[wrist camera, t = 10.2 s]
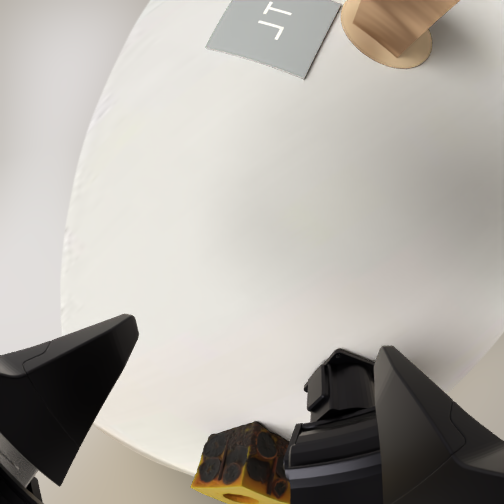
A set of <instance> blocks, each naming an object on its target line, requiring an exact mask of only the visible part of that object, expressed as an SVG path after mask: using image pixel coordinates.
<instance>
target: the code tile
mask: <svg viewBox="0 0 504 504" xmlns="http://www.w3.org/2000/svg"><path fill="white" fill-rule="evenodd" d="M340 6H341V4H339V3H337V2H334V1H331V0H232V1H231V2H230V4H229V6H228V7H227V9H226V11H225V12H224V14H223V16H222V17H221V19H220V21H219V23H218V24H217V26H216V28H215V30H214V32H213V33H212V35H211V37H210V39H209V41H208V43H207V45H206V47H205V48H206V49H210V50H215V51H219V52H223V53H227V54H231V55H234V56H238V57H241V58H245V59H248V60H251V61H255V62H258V63H261V64H264V65H267V66H270V67H273V68H276V69H278V70H281V71H284V72H287V73H289V74H292V75H294V76H297V77H299V78H302V79H304V78H305V76H306V74H307V72H308V70H309V68H310V66H311V64H312V62H313V60H314V58H315V56H316V54H317V52H318V50H319V48H320V46H321V44H322V42H323V40H324V38H325V36H326V34H327V32H328V30H329V28H330V26H331V24H332V22H333V20H334V18H335V16H336V14H337V12H338V10H339V8H340Z"/></svg>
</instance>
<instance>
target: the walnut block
mask: <svg viewBox="0 0 504 504" xmlns="http://www.w3.org/2000/svg"><path fill="white" fill-rule="evenodd" d="M459 1H460V0H361V1H360V4H359V7H358V9H357V12H356V15H355V17H354V20H353V24H354V25H356V26H357V27H359V28H360V29H361V30H363V31H364V32H365V33H367V34H368V35H369V36H371V37H372V38H373V39H374V40H376V41H377V42H378V43H380V44H381V45H382V46H383V47H384V48H386V49H387V50H388V51H389V52H390V53H391V54H393V55H394V56H395V57H396V58H397V57H398V56H400V55H401V54H402V53H403V52H404V51H405V50H406V49H407V48H408V47H409V46H410V45H411V44H412V43H413V42H414V41H415V40H417V39H418V38H419V37H420V36H421V35H422V34H423V33H424V32H425V31H426V30H427V29H428V28H430V27H431V26H432V25H433V24H434V23H435V22H436V21H437V20H438V19H439V18H441V17H442V16H443V15H444V14H445V13H446V12H447V11H449V10H450V9H451V8H452V7H453V6H454V5H455V4H457V3H458V2H459Z"/></svg>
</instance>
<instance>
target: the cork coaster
mask: <svg viewBox="0 0 504 504" xmlns="http://www.w3.org/2000/svg"><path fill="white" fill-rule="evenodd" d="M360 1H361V0H347V1H346V2H345V3H344V5H343V8H342V11H341V23H342V26H343V29H344V31H345V33H346V35H347V37H348V38H349V40H350V41H351V42H352V43H353V44H354V45H355V46H356V47H357V48H358V49H359V50H360V51H361V52H362V53H363V54H365V55H366V56H368V57H369V58H371V59H373V60H374V61H376V62H379V63H381V64H383V65H386V66H390V67H394V68H402V69H405V68H412V67H416V66H418V65H420V64H421V63H423V62H424V61H425V60H426V59H427V58H428V57H429V55H430V53H431V49H432V38H431V34H430V31H429V29H427V30H426V31H425V32H424V33H423V34H422V35H421V36H420V37H419V38H418V39H417V40H415V41H414V42H413V43H412V44H411V45H410V46H409V47H408V48H407V49H406V50H405V51H404V52H403V53H402V54H401V55H400V56H398V57H397V58H396V57H395V56H394V55H393V54H391V53H390V52H389V51H388V50H387V49H386V48H384V47H383V46H382V45H381V44H380V43H378V42H377V41H376V40H374V39H373V38H372V37H371V36H369V35H368V34H367V33H365V32H364V31H363V30H361V29H360V28H359V27H357V26H356V25H354V24H353V20H354V17H355V15H356V12H357V9H358V7H359V4H360Z"/></svg>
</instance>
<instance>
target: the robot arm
mask: <svg viewBox="0 0 504 504" xmlns="http://www.w3.org/2000/svg"><path fill="white" fill-rule="evenodd" d="M138 337H139V332H138V328H137V324H136V319H135V317H134V316H133V315H129V314H122V315H119V316H117V317H114V318H111V319H109V320H106V321H103V322H101V323H98V324H95V325H92V326H90V327H87V328H84V329H81V330H79V331H76V332H73V333H70V334H68V335H65V336H62V337H59V338H57V339H54V340H52V341H48V342H45V343H42V344H40V345H36V346H33V347H30V348H27V349H23V350H19V351H16V352H12V353H8V354H5V355H0V504H43V502H42V498H41V493H40V489H39V484H38V480H37V478H35V477H34V476H35V474H36V473H37V472H38V470H39V471H40V472H41V473H43V474H44V475H45V476H46V477H48V478H49V479H50V480H51V481H53V482H54V483H55V484H57V485H58V486H61V484H62V482H63V480H64V478H65V476H66V474H67V472H68V470H69V468H70V466H71V464H72V462H73V460H74V458H75V456H76V454H77V452H78V450H79V447H80V446H81V444H82V442H83V440H84V438H85V437H86V435H87V433H88V431H89V429H90V427H91V425H92V424H93V422H94V420H95V418H96V416H97V415H98V413H99V411H100V409H101V407H102V406H103V404H104V402H105V400H106V399H107V397H108V395H109V393H110V392H111V390H112V388H113V386H114V385H115V383H116V381H117V380H118V378H119V376H120V375H121V373H122V371H123V369H124V367H125V365H126V363H127V361H128V359H129V357H130V355H131V352H132V350H133V348H134V346H135V344H136V342H137V340H138ZM338 354H340V355H338ZM304 391H305V392H308V397H307V410H308V411H310V412H311V421H310V423H304V424H303V423H300V424H296V426H295V429H294V431H293V434H292V437H291V440H290V442H289V445H288V448H287V451H286V453H285V456H284V459H283V462H284V464H283V469H284V470H285V474H286V477H287V479H288V481H289V483H290V504H504V441H503V440H501V439H500V438H498V437H497V436H496V435H494V434H493V433H492V432H491V431H489V430H488V429H486V428H485V427H484V426H482V425H481V424H480V423H479V422H478V421H476V420H475V419H474V418H473V417H471V416H470V415H469V414H468V413H467V412H465V411H464V410H463V409H462V408H461V407H460V406H459V405H458V404H457V403H456V402H454V401H453V400H452V399H451V398H450V397H449V396H448V395H447V394H446V393H445V392H444V391H442V390H441V389H440V388H439V387H438V386H437V385H436V384H435V383H434V382H433V381H431V380H430V379H429V378H428V377H427V376H426V375H425V374H424V373H423V372H422V371H420V370H419V369H418V368H417V367H416V366H415V365H414V364H413V363H412V362H410V361H409V360H408V359H407V358H406V357H405V356H404V355H403V354H401V353H400V352H399V351H398V350H397V349H396V348H395V347H393V346H382V347H381V348H380V350H379V353H378V356H377V358H376V361H375V363H374V362H371V361H368V360H366V359H363V358H360V357H358V356H355V355H353V354H350V353H347V352H345V351H342V350H336V351H334V352H333V354H332V355H331V356H330V357H329V358H328V359H327V361H326V362H325V363H324V364H322V365H321V366H320V367H319V368H318V369H317V370H316V371H315V373H314V374H313V375H312V376H311V377H310V378H309V379H308V382H307V383H306V384H305V386H304Z"/></svg>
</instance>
